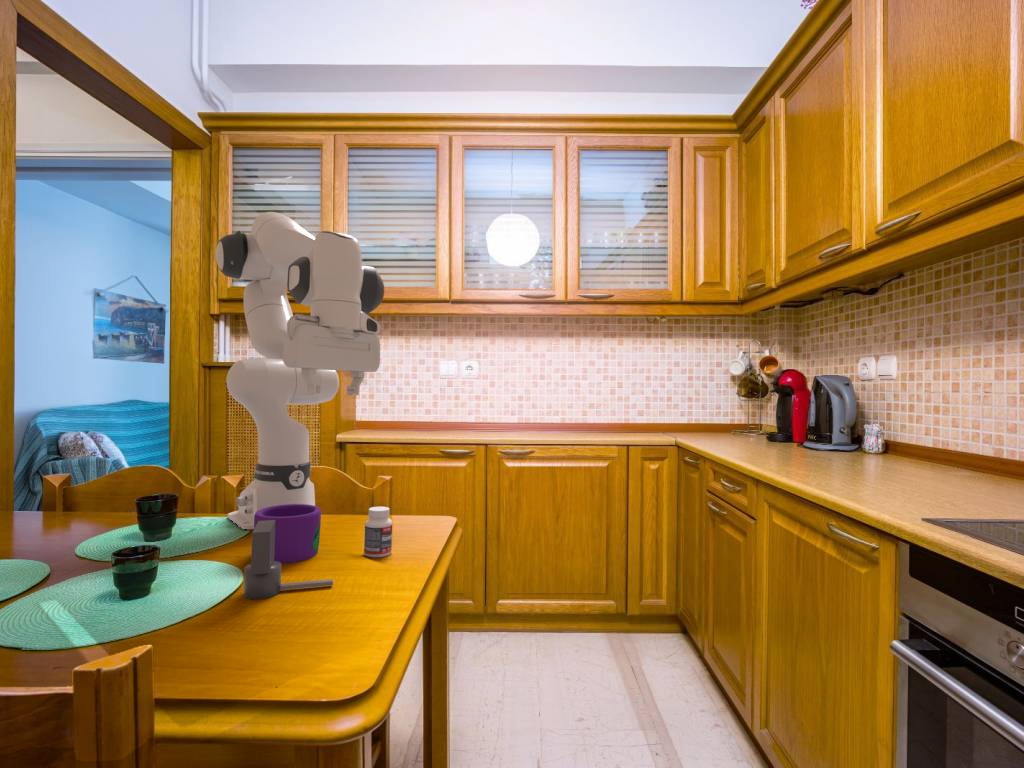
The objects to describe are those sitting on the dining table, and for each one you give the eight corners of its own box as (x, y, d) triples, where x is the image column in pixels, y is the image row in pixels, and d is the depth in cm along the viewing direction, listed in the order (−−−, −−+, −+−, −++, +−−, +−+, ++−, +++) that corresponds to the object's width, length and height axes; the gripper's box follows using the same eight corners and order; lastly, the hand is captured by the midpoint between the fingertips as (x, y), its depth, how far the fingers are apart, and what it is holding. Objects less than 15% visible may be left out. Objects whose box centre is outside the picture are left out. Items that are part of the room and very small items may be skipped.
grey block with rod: (240, 603, 74) (241, 533, 74) (247, 585, 81) (249, 521, 81) (332, 594, 78) (334, 527, 78) (332, 578, 85) (334, 516, 85)
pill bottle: (384, 559, 99) (385, 512, 100) (359, 556, 101) (360, 510, 101) (395, 550, 105) (397, 506, 105) (371, 548, 106) (372, 504, 106)
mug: (313, 573, 92) (315, 516, 92) (244, 576, 90) (246, 518, 90) (328, 544, 109) (330, 496, 109) (270, 546, 107) (272, 497, 107)
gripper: (301, 310, 85) (299, 395, 85) (386, 325, 103) (384, 395, 103) (275, 312, 88) (273, 394, 88) (362, 327, 106) (360, 395, 106)
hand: (334, 395), depth 96 cm, fingers open, 8 cm apart
